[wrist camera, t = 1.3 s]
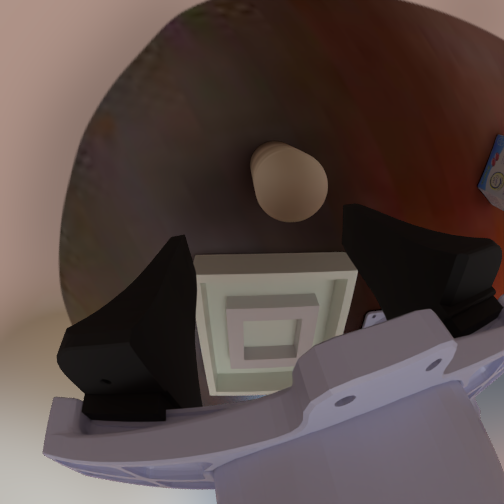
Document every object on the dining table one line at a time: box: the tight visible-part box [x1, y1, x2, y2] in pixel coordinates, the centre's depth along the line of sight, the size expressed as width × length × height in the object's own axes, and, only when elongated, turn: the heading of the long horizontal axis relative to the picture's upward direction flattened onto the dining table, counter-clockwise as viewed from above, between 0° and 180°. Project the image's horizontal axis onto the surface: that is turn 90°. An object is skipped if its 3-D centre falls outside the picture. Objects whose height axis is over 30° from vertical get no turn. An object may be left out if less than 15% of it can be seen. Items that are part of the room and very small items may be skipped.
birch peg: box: [250, 141, 328, 222], centre depth 18 cm, size 4×4×8 cm
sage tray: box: [193, 252, 358, 396], centre depth 27 cm, size 14×17×4 cm
